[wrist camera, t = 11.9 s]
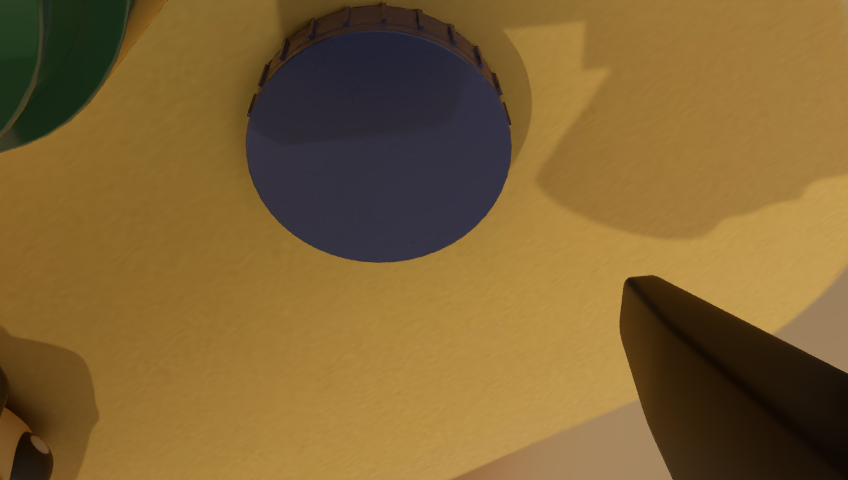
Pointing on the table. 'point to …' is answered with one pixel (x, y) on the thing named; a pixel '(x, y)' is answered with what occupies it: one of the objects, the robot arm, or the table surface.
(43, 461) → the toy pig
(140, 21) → the jar
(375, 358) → the table surface
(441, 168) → the lid
